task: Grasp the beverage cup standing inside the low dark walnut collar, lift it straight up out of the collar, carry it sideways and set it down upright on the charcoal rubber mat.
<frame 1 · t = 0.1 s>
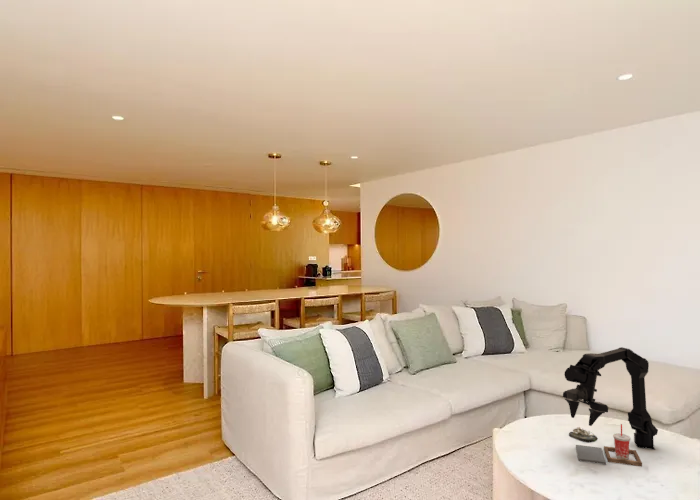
hand: (581, 421, 187), 15 cm above the table, tool pointing down, fingers open, 9 cm apart
socket collar: (622, 457, 186), on the table
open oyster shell: (583, 438, 207), on the table
rubber mat: (590, 455, 189), on the table
beverage cup: (622, 458, 186), resting in socket collar
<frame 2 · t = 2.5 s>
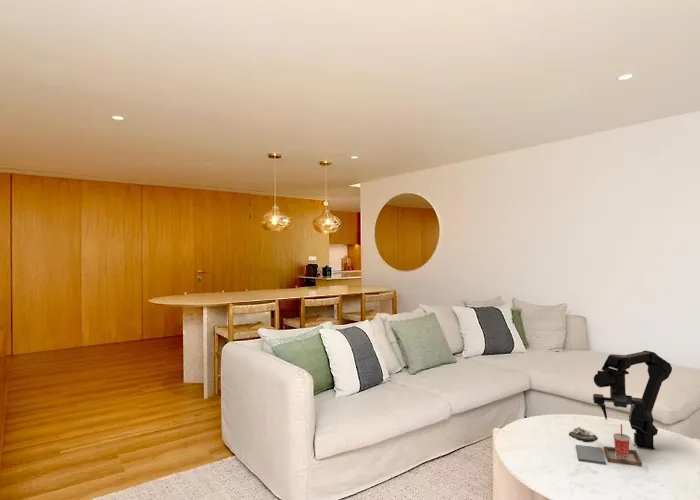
hand: (618, 420, 193), 13 cm above the table, tool pointing down, fingers open, 9 cm apart
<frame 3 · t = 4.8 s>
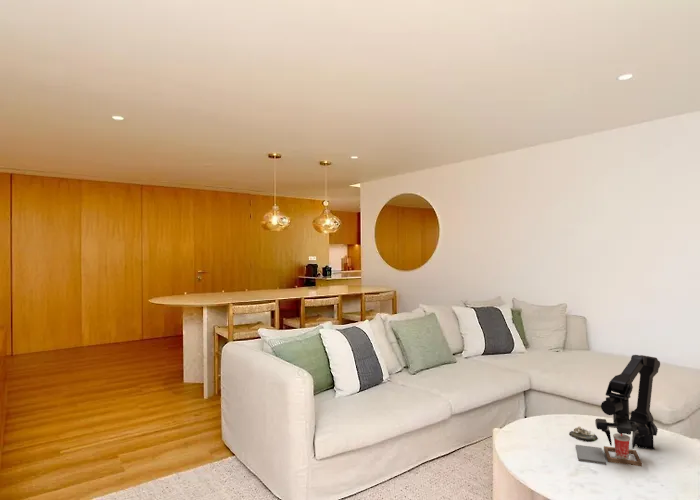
hand: (621, 446, 186), 5 cm above the table, tool pointing down, fingers closed on beverage cup, 8 cm apart
beverage cup: (622, 458, 186), resting in socket collar, touching gripper
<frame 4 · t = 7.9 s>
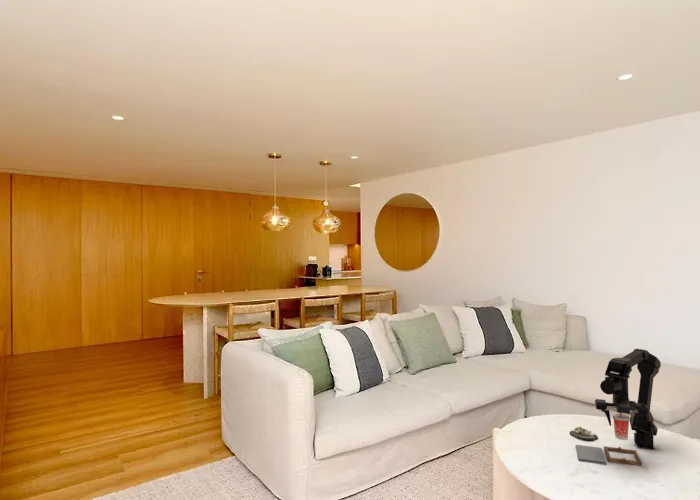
hand: (621, 426, 187), 13 cm above the table, tool pointing down, fingers closed on beverage cup, 8 cm apart
beverage cup: (621, 438, 187), point 8 cm above the table, touching gripper
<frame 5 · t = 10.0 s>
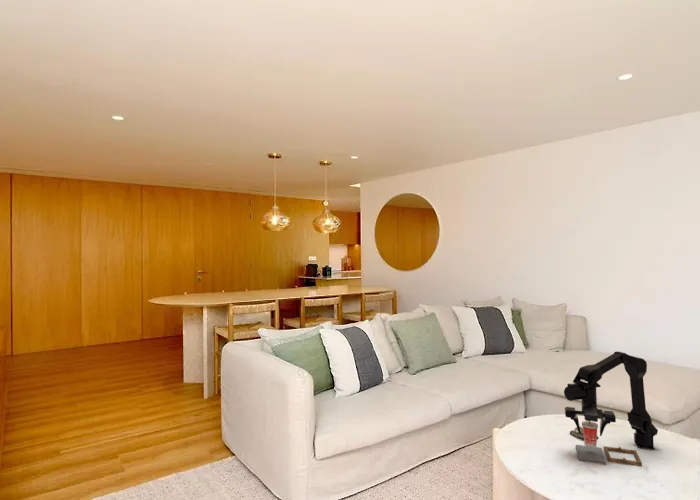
hand: (590, 434, 189), 9 cm above the table, tool pointing down, fingers closed on beverage cup, 8 cm apart
beverage cup: (590, 445, 189), point 4 cm above the table, touching gripper
when the fingers open (7 cm above the table, at t = 11.3 s): beverage cup drops 1 cm, resting on rubber mat.
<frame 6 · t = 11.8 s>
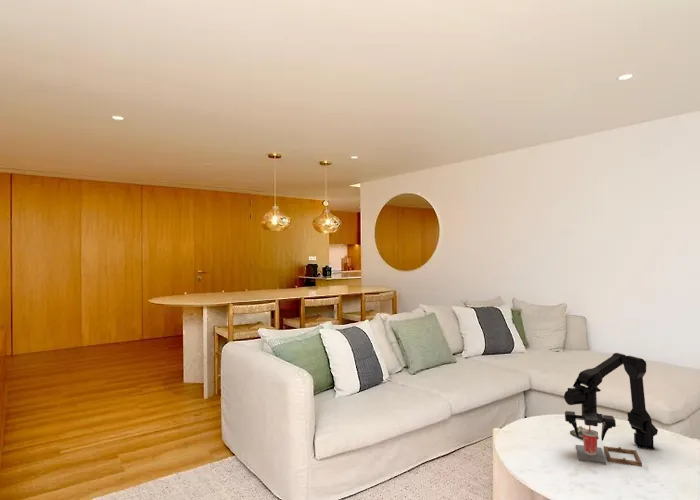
hand: (589, 438, 189), 7 cm above the table, tool pointing down, fingers open, 9 cm apart
beverage cup: (590, 453, 189), point 1 cm above the table, touching rubber mat
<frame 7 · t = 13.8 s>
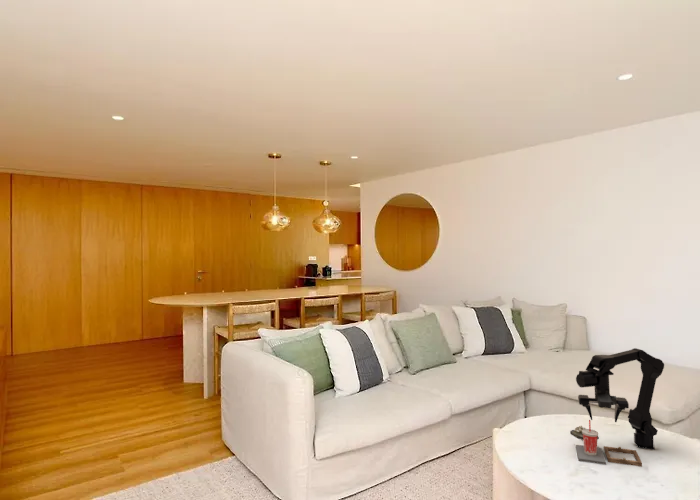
hand: (603, 420, 194), 13 cm above the table, tool pointing down, fingers open, 9 cm apart
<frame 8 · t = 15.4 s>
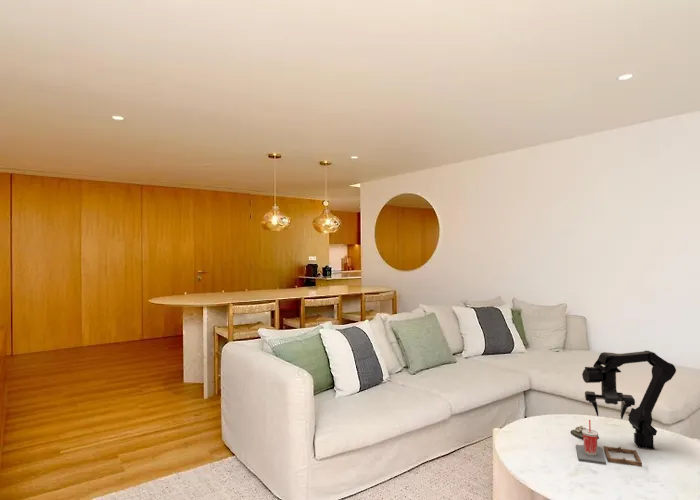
hand: (609, 417, 197), 13 cm above the table, tool pointing down, fingers open, 9 cm apart
at the end: beverage cup inside the target area on the rubber mat (0.1 cm from its centre), point 0.8 cm above the rubber mat's base; beverage cup tilted 0°; the gripper is holding nothing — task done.
